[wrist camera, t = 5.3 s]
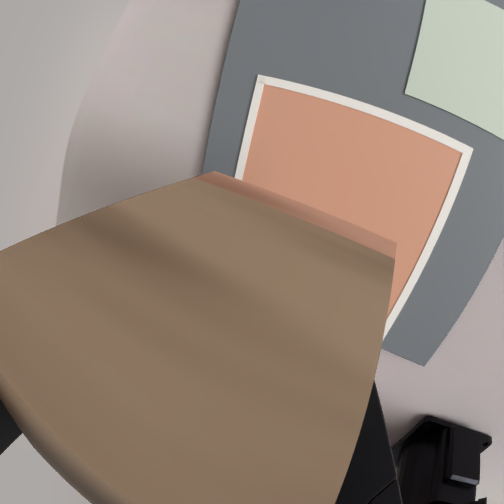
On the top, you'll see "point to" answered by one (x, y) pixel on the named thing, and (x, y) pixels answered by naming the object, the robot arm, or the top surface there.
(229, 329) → the stamp
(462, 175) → the picture board
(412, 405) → the top surface
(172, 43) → the top surface
